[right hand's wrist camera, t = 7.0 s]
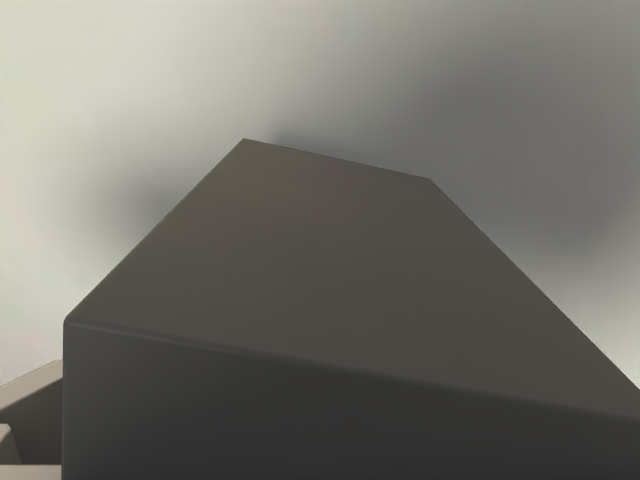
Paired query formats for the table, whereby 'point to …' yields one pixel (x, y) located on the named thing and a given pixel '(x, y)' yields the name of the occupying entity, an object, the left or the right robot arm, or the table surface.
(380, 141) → the table surface
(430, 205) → the box
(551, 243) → the table surface
